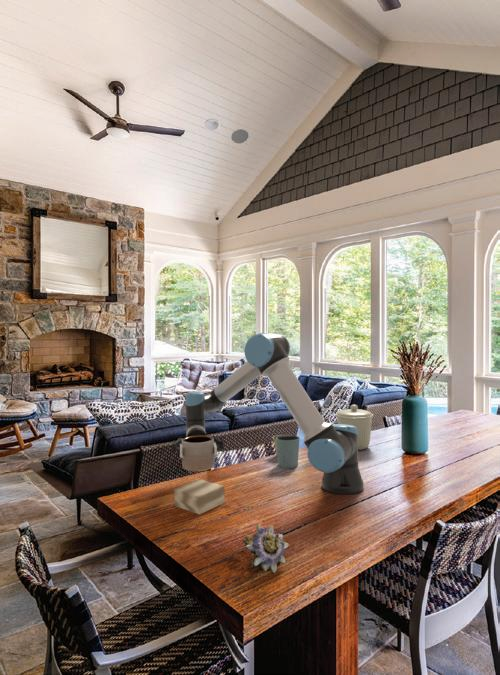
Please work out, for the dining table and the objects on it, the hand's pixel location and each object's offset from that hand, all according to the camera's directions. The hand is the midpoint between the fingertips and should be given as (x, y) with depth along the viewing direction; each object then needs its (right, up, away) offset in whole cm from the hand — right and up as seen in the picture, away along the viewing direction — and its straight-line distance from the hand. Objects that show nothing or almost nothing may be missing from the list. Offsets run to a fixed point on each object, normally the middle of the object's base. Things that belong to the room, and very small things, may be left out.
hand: (198, 452), depth 146 cm
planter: (-1, -6, +4) cm, 8 cm away
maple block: (0, -19, +4) cm, 19 cm away
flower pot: (+32, -17, +60) cm, 70 cm away
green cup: (+34, -17, +45) cm, 59 cm away
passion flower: (+21, -19, -35) cm, 45 cm away
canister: (+68, -16, +71) cm, 100 cm away
